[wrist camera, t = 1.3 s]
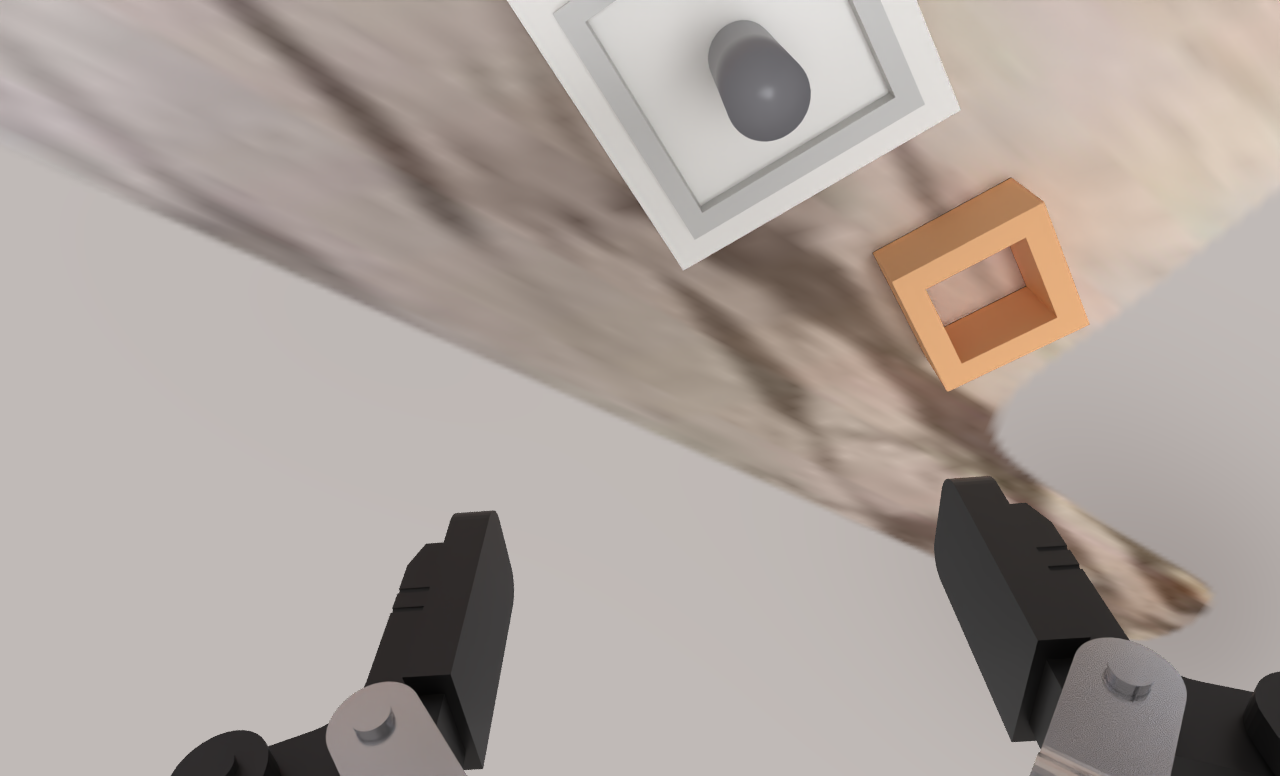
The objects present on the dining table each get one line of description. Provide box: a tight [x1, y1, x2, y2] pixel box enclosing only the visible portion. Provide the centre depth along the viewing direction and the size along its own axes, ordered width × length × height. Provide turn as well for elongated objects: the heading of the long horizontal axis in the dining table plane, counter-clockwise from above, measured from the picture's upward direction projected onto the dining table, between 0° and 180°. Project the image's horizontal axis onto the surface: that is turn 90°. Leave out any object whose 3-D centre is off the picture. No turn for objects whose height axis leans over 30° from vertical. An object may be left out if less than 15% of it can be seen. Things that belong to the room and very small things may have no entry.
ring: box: [873, 178, 1090, 392], centre depth 32 cm, size 6×6×3 cm
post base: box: [507, 0, 961, 271], centre depth 26 cm, size 12×12×8 cm
